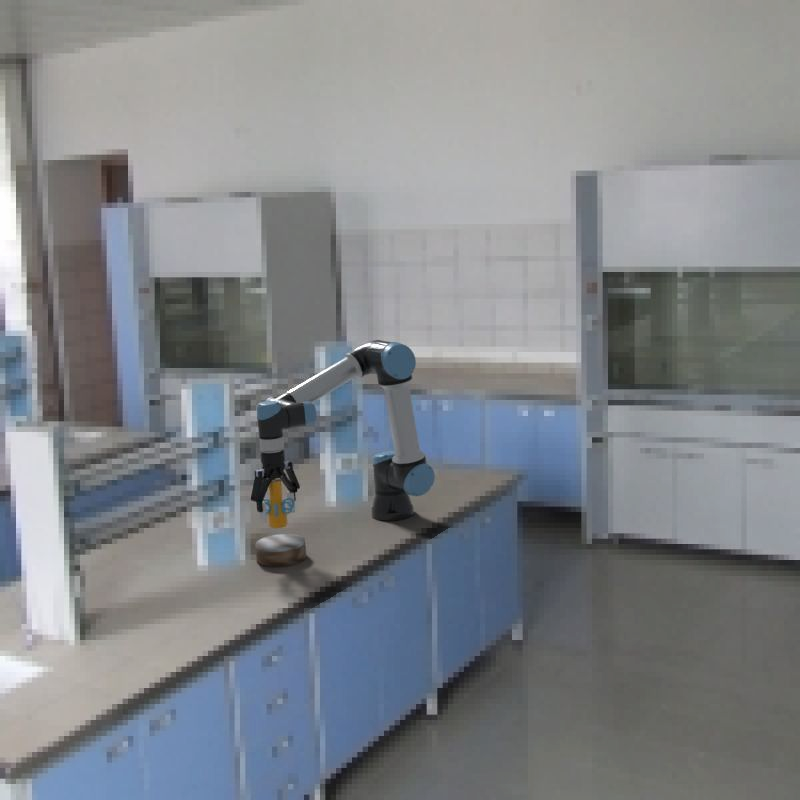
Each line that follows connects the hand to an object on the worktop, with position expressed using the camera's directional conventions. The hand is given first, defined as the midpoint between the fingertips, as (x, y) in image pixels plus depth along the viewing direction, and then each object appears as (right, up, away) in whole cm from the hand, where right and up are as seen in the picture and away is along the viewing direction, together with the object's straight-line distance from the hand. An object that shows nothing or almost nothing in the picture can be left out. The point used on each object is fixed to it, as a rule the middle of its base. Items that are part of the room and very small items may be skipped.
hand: (277, 516), depth 346 cm
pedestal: (+1, -14, +3) cm, 14 cm away
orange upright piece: (0, -3, +1) cm, 3 cm away
